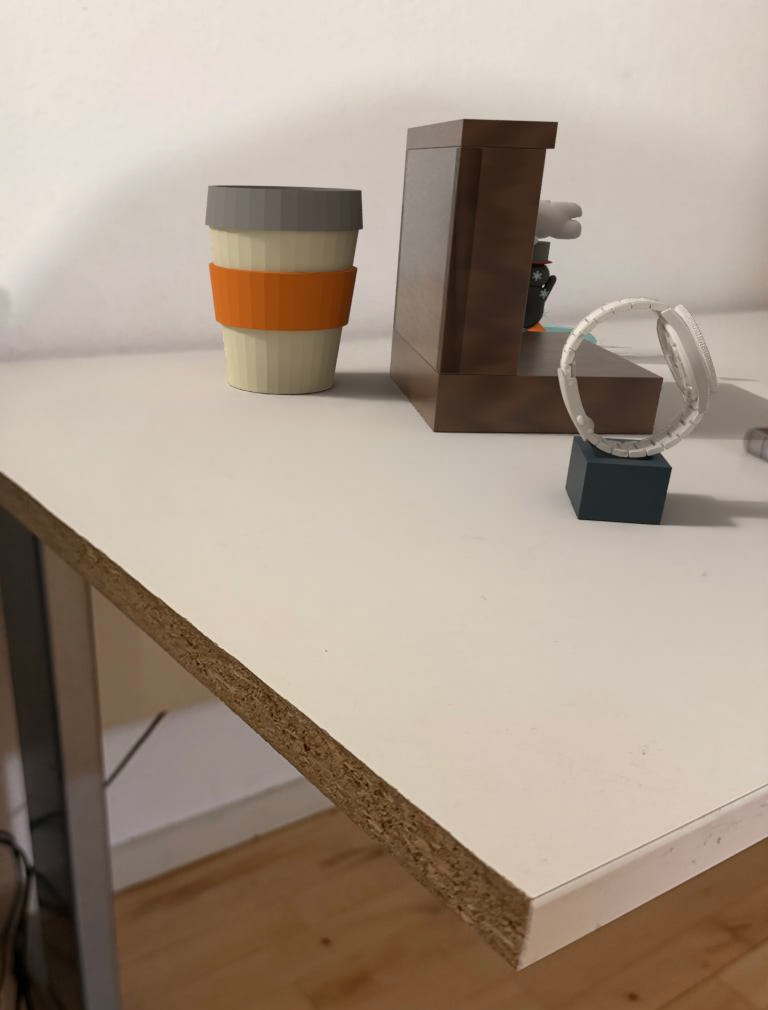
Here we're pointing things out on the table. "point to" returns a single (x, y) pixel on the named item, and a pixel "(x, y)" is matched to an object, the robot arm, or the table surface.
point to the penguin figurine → (558, 226)
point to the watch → (625, 462)
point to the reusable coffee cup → (282, 281)
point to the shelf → (491, 293)
